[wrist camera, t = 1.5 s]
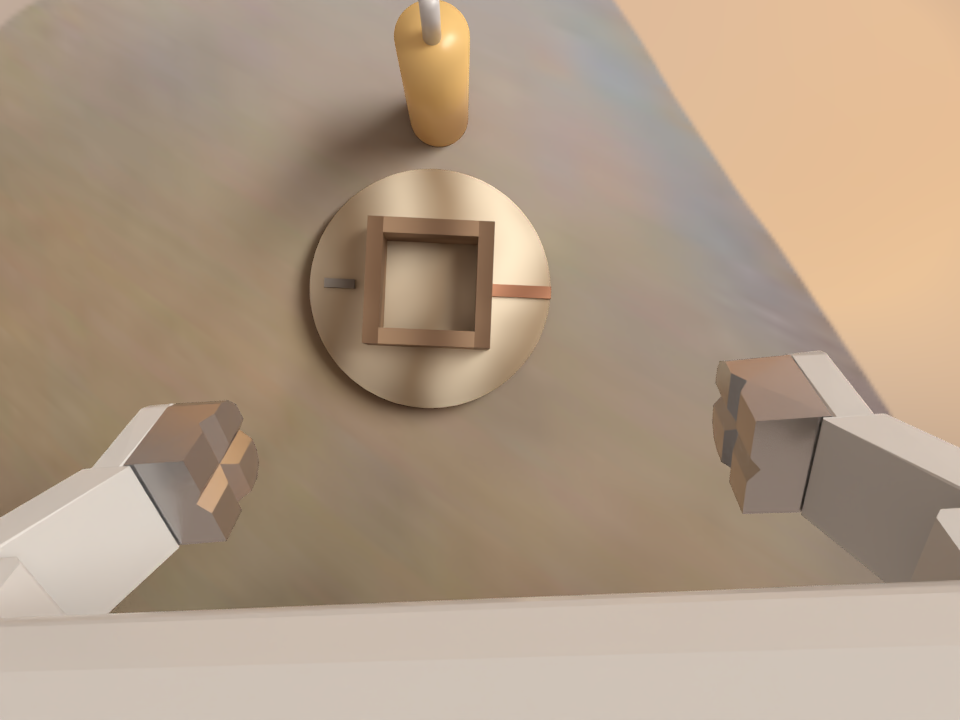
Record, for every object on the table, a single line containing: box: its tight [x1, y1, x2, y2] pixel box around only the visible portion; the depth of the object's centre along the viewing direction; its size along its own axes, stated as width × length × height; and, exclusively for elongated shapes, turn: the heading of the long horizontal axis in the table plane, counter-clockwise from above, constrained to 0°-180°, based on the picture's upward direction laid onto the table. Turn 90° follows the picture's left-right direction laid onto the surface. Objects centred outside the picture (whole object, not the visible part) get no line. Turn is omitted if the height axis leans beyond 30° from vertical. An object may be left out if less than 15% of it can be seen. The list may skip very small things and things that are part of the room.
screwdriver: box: [394, 0, 470, 147], centre depth 36 cm, size 4×4×13 cm
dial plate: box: [310, 169, 551, 408], centre depth 40 cm, size 16×16×4 cm
